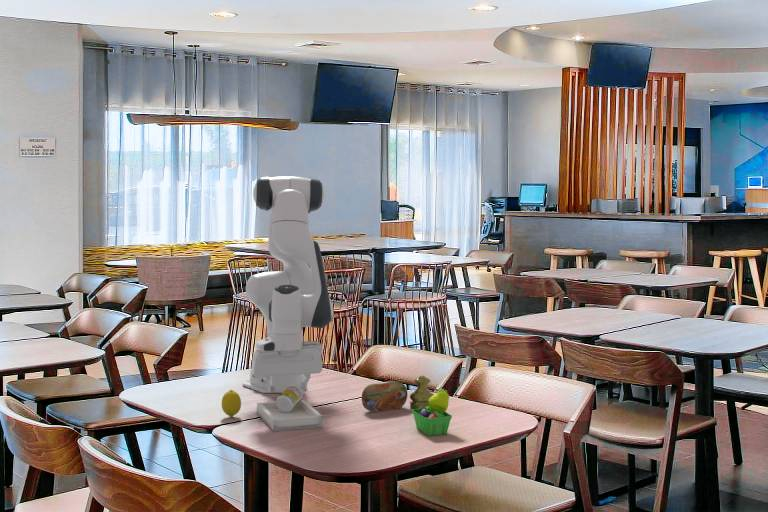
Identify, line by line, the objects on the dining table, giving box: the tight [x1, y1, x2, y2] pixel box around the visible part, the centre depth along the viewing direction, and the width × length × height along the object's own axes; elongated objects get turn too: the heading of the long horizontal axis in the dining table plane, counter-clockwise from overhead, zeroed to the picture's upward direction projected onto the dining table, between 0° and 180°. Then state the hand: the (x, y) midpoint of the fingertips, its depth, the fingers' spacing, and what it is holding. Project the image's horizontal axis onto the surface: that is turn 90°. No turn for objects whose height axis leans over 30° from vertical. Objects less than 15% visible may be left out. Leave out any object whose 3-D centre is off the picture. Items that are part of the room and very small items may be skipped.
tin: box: [361, 380, 408, 414], centre depth 273 cm, size 15×3×8 cm, turn 122°
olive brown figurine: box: [409, 375, 435, 411], centre depth 274 cm, size 7×7×10 cm
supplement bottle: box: [275, 384, 306, 413], centre depth 269 cm, size 5×5×10 cm
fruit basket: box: [411, 388, 453, 437], centre depth 249 cm, size 11×9×11 cm
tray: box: [256, 398, 324, 432], centre depth 261 cm, size 22×14×3 cm, turn 19°
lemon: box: [221, 389, 242, 418], centre depth 264 cm, size 6×6×8 cm
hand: (287, 390), depth 263 cm, fingers open, 8 cm apart
